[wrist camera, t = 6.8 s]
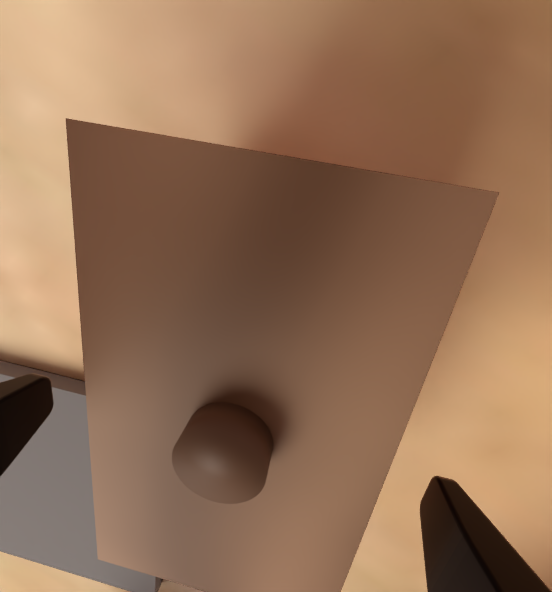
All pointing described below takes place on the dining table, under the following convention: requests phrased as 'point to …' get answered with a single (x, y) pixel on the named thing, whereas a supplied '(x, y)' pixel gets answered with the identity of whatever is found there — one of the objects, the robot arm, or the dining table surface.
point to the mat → (58, 493)
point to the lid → (252, 349)
